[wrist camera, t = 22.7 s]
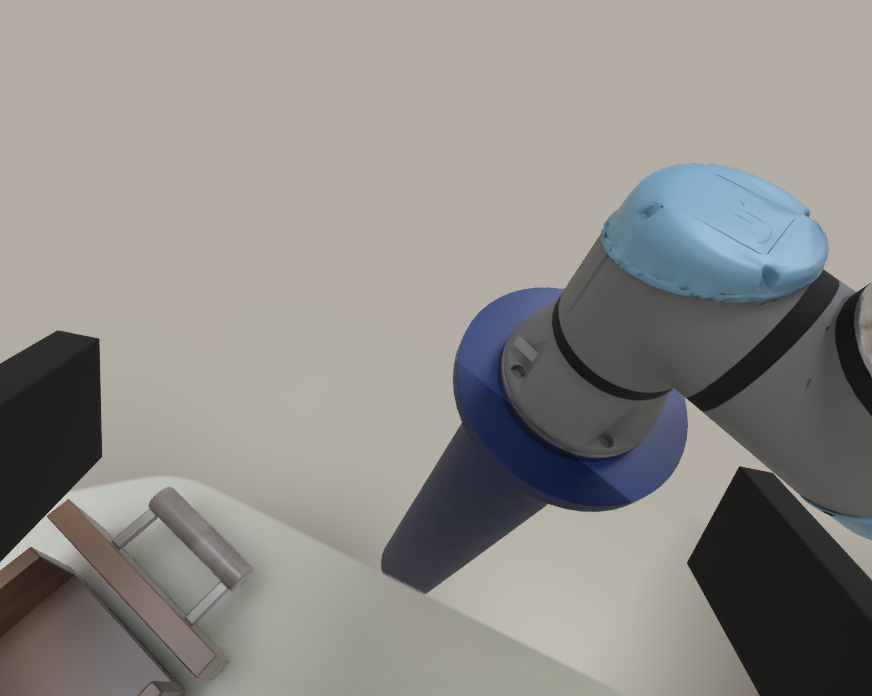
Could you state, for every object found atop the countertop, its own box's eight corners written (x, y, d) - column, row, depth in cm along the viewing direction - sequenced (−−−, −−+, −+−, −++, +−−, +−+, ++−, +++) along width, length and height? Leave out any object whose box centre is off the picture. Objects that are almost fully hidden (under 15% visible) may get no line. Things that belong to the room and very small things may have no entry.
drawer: (160, 481, 36) (136, 446, 31) (282, 603, 34) (279, 587, 29) (-201, 778, 26) (-328, 802, 21) (-59, 981, 24) (-161, 1064, 18)
